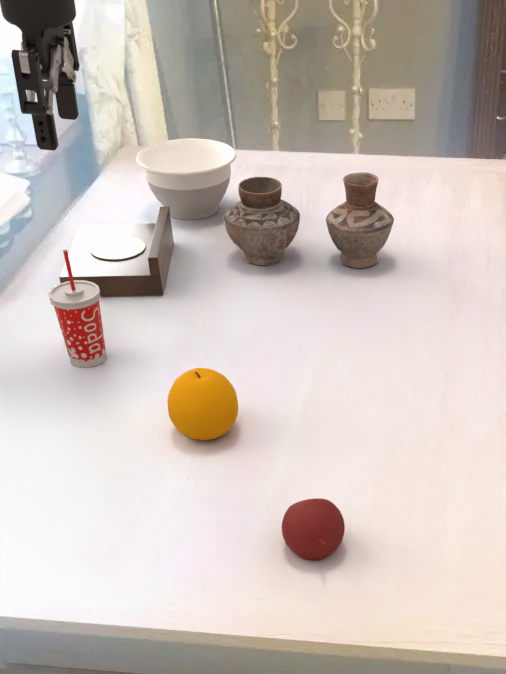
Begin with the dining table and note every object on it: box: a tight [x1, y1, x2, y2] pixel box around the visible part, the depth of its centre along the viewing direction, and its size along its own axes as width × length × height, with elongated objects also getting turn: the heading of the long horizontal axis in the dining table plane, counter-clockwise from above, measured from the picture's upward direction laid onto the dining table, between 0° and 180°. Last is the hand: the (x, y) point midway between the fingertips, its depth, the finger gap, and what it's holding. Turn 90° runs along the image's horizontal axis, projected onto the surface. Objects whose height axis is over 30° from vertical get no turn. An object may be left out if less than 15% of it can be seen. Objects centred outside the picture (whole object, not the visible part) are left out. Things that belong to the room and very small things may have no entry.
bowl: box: [135, 137, 237, 221], centre depth 146 cm, size 16×16×8 cm
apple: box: [167, 367, 239, 441], centre depth 101 cm, size 8×8×8 cm
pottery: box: [223, 171, 395, 269], centre depth 131 cm, size 11×25×12 cm, turn 86°
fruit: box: [281, 497, 346, 561], centre depth 86 cm, size 6×6×8 cm
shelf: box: [58, 206, 175, 298], centre depth 131 cm, size 14×18×6 cm
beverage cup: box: [47, 249, 108, 368], centre depth 110 cm, size 6×6×14 cm
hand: (59, 133), depth 103 cm, fingers open, 8 cm apart
